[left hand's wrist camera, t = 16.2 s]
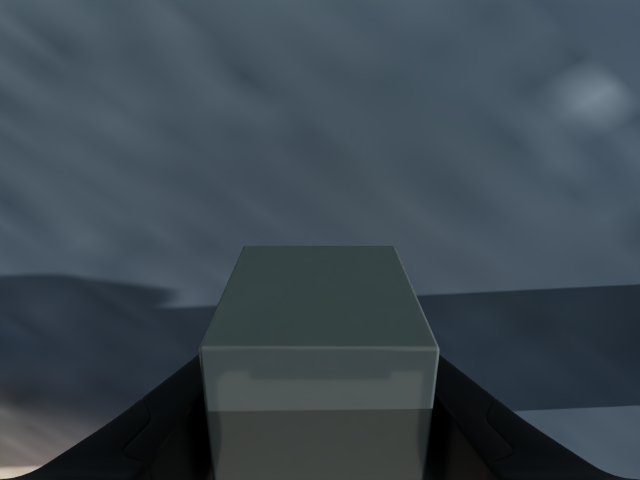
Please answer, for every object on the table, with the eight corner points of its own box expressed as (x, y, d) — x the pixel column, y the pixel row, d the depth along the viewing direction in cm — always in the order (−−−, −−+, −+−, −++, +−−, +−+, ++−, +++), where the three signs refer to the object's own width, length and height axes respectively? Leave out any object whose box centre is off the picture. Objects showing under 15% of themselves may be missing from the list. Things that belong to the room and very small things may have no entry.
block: (395, 244, 12) (441, 348, 7) (385, 395, 14) (417, 551, 9) (243, 244, 12) (196, 347, 7) (252, 395, 14) (220, 552, 9)
